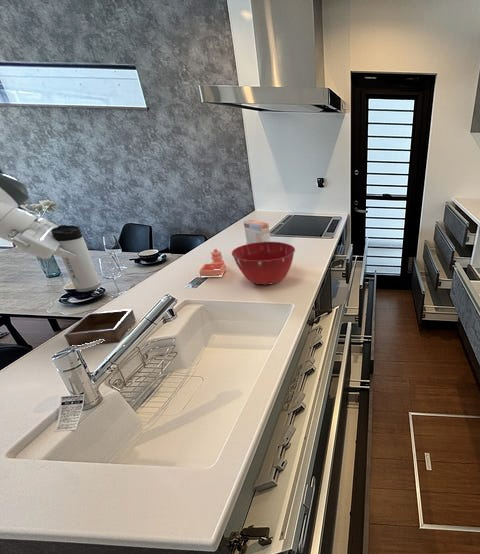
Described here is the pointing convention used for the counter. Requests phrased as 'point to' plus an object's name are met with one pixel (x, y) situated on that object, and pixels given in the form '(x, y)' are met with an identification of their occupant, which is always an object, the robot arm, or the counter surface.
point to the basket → (101, 327)
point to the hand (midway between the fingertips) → (77, 253)
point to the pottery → (213, 265)
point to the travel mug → (77, 258)
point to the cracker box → (256, 231)
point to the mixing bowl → (264, 261)
